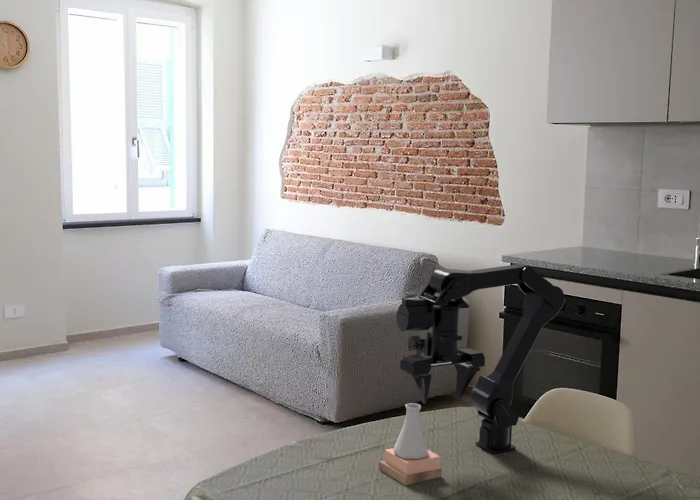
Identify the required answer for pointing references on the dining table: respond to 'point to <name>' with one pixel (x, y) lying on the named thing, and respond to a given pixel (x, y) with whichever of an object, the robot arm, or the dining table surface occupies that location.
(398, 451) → the flask
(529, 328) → the robot arm
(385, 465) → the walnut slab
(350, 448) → the dining table surface
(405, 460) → the terracotta slab
